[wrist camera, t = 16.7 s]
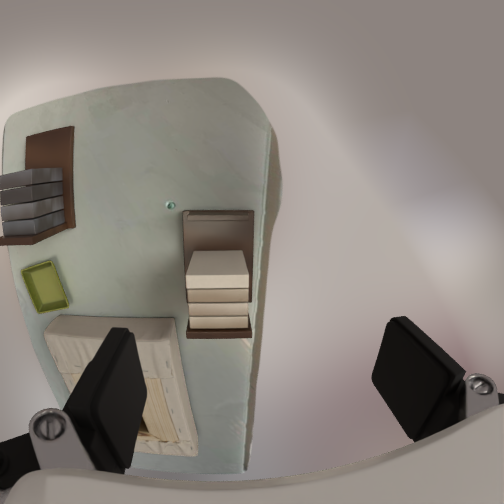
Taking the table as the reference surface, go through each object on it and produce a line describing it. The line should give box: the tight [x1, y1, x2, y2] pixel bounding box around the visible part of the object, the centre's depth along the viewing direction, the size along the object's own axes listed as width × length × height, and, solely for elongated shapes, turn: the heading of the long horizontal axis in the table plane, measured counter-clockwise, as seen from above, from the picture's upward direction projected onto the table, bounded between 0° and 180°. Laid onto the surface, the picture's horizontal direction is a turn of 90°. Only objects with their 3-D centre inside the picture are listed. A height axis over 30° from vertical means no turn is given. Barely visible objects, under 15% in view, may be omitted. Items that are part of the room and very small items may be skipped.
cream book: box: [186, 250, 249, 289], centre depth 36 cm, size 2×7×10 cm, turn 89°
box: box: [44, 315, 198, 456], centre depth 43 cm, size 23×8×32 cm
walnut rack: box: [0, 126, 76, 246], centre depth 30 cm, size 16×10×11 cm, turn 179°
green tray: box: [21, 260, 69, 314], centre depth 39 cm, size 9×9×2 cm
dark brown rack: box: [183, 210, 254, 339], centre depth 36 cm, size 14×10×11 cm
